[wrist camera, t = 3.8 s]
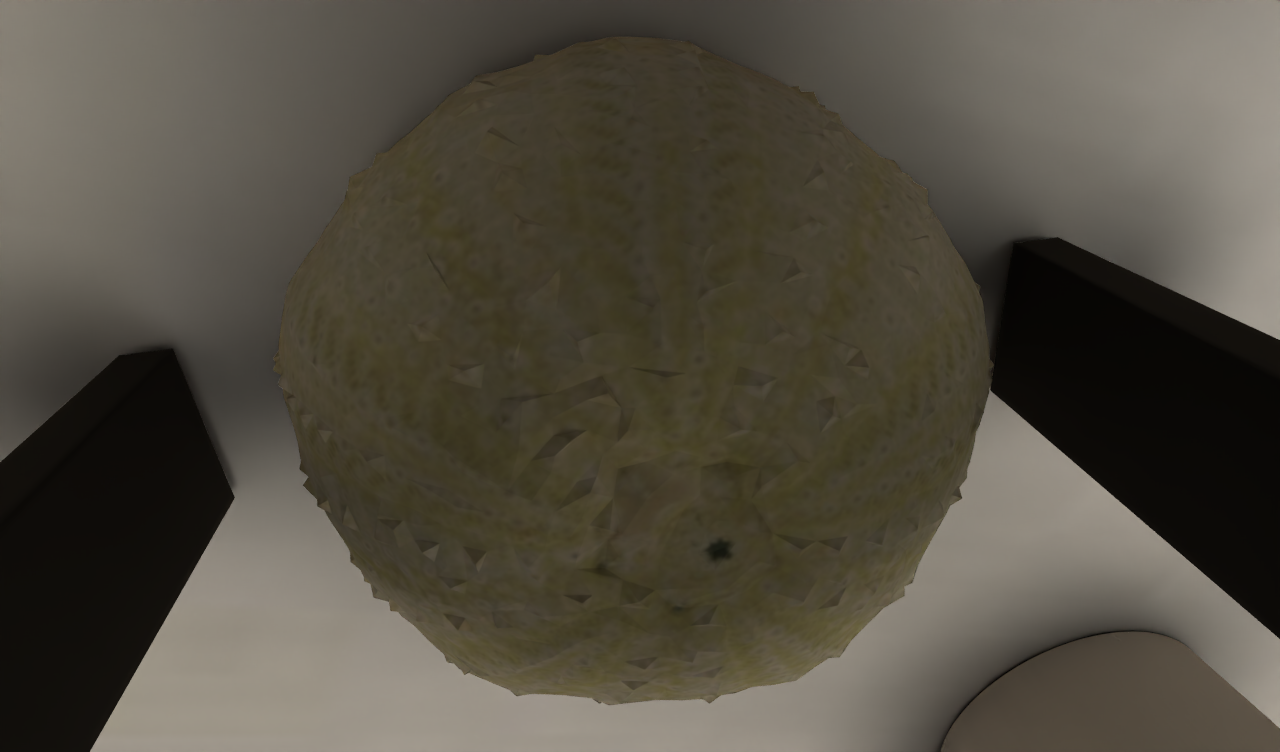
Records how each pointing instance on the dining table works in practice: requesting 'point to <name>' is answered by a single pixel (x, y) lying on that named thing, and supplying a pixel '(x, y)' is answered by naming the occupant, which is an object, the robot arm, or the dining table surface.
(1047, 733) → the coffee cup
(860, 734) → the dining table surface
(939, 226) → the sea urchin shell
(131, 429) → the robot arm
